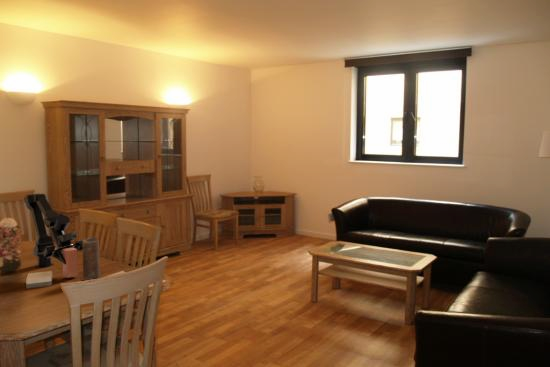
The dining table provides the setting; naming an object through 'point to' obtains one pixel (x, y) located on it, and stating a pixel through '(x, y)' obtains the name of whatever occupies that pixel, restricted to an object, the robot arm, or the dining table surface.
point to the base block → (39, 279)
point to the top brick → (70, 262)
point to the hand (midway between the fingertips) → (71, 262)
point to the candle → (91, 258)
